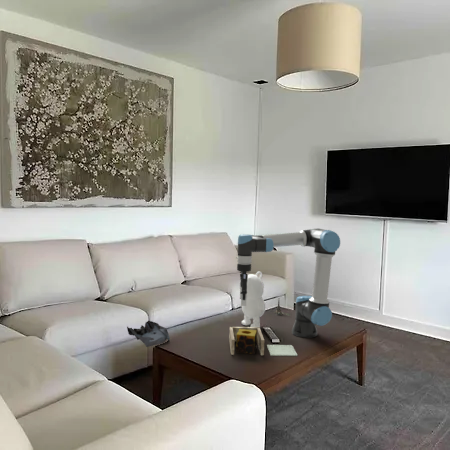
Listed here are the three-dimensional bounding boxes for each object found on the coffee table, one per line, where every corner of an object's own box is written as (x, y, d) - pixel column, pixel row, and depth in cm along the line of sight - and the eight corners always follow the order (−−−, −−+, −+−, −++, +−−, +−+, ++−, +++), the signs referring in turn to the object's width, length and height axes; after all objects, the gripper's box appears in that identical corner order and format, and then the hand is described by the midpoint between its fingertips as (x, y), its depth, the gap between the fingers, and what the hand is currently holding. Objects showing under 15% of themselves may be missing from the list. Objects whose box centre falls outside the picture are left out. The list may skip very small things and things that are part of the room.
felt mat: (292, 346, 235) (292, 345, 235) (297, 356, 221) (297, 354, 221) (266, 345, 234) (266, 344, 234) (270, 355, 220) (270, 354, 220)
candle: (254, 355, 221) (255, 336, 220) (235, 352, 223) (236, 334, 222) (256, 348, 231) (257, 330, 230) (238, 346, 233) (239, 328, 232)
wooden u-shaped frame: (258, 340, 242) (259, 327, 241) (263, 355, 221) (264, 340, 220) (229, 340, 241) (229, 326, 240) (231, 354, 220) (231, 339, 219)
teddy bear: (250, 333, 255) (252, 275, 252) (232, 325, 269) (234, 270, 266) (273, 327, 266) (275, 272, 263) (255, 320, 280) (256, 268, 277)
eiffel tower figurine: (291, 315, 297) (292, 296, 295) (285, 318, 288) (285, 299, 287) (273, 311, 305) (273, 292, 304) (265, 314, 297) (266, 295, 296)
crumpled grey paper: (142, 350, 223) (142, 333, 222) (125, 339, 238) (125, 323, 237) (171, 343, 234) (172, 327, 234) (153, 333, 250) (153, 318, 249)
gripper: (236, 259, 239) (235, 296, 240) (238, 267, 214) (236, 308, 216) (249, 259, 239) (248, 296, 240) (252, 267, 214) (251, 309, 216)
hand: (242, 302), depth 228 cm, fingers open, 13 cm apart
